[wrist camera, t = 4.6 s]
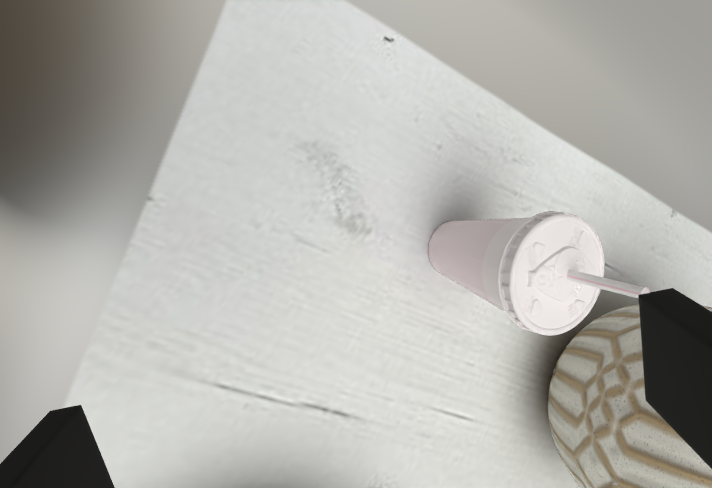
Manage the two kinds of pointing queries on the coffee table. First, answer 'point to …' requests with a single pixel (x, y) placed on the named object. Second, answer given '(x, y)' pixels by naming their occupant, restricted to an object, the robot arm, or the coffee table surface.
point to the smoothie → (528, 267)
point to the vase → (615, 413)
